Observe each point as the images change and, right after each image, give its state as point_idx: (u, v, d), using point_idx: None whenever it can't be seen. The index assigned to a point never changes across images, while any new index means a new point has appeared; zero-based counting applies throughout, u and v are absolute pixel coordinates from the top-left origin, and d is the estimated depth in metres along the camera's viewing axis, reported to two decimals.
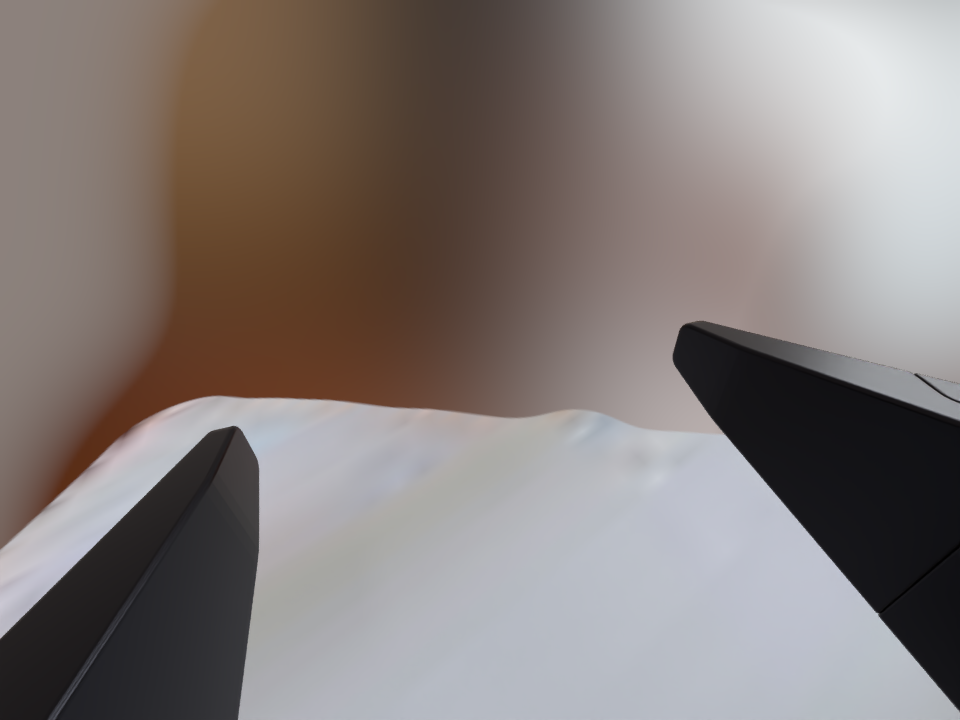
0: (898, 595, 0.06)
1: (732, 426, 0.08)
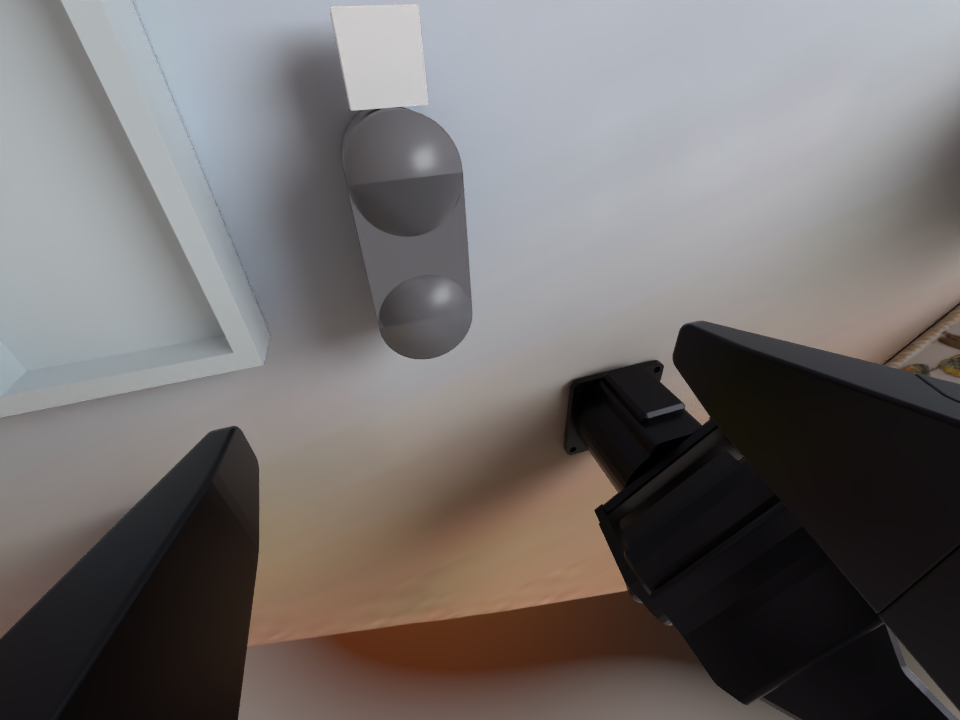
0: (898, 595, 0.06)
1: (732, 426, 0.08)
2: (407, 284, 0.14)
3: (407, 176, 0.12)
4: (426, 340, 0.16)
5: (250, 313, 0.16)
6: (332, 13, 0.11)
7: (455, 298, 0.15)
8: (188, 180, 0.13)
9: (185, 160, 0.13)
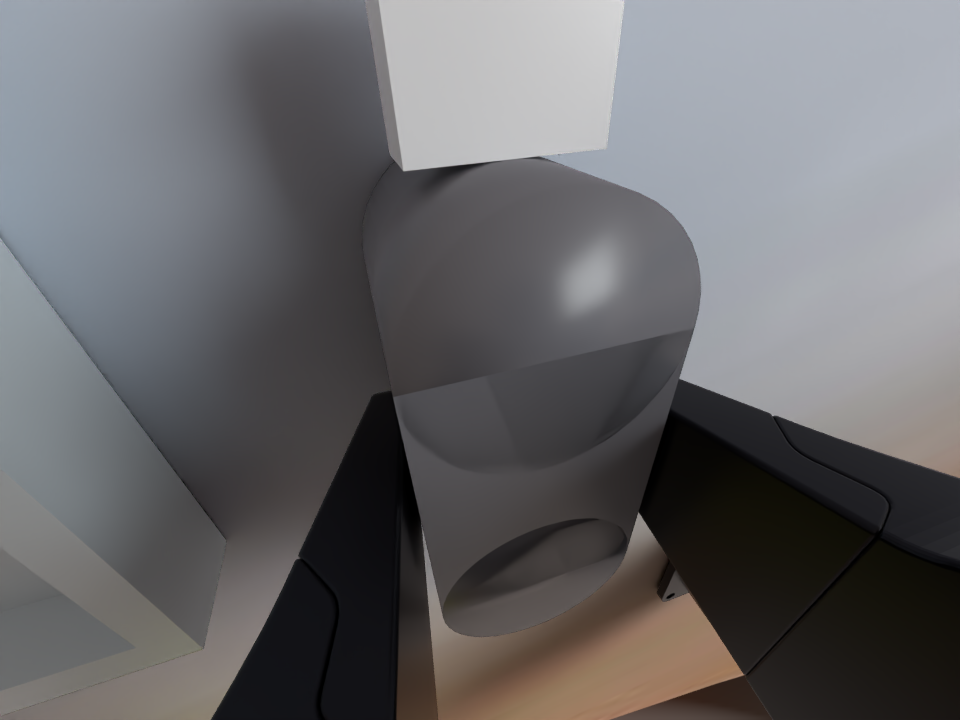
0: (759, 658, 0.06)
1: None
2: (514, 545, 0.06)
3: (560, 354, 0.04)
4: (530, 607, 0.08)
5: (175, 552, 0.08)
6: None
7: (601, 542, 0.07)
8: None
9: None
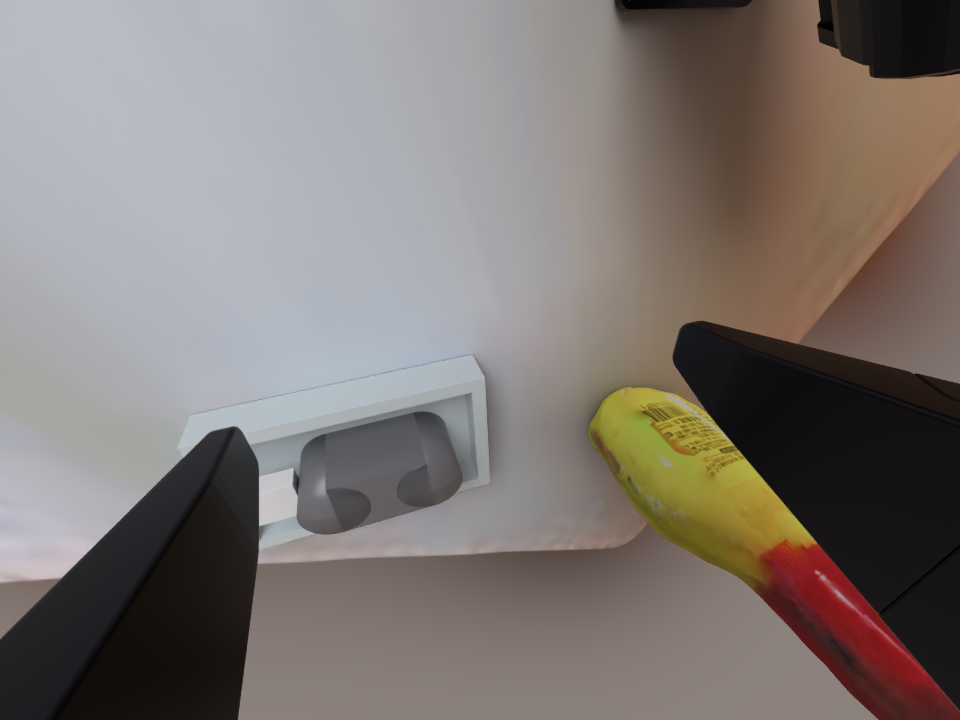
0: (899, 595, 0.06)
1: (732, 426, 0.08)
2: (403, 498, 0.22)
3: (333, 511, 0.21)
4: (447, 482, 0.22)
5: (448, 373, 0.22)
6: (262, 524, 0.22)
7: (415, 474, 0.21)
8: (357, 398, 0.21)
9: (347, 394, 0.21)
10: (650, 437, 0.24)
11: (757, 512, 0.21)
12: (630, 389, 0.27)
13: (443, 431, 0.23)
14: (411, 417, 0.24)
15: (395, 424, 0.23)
